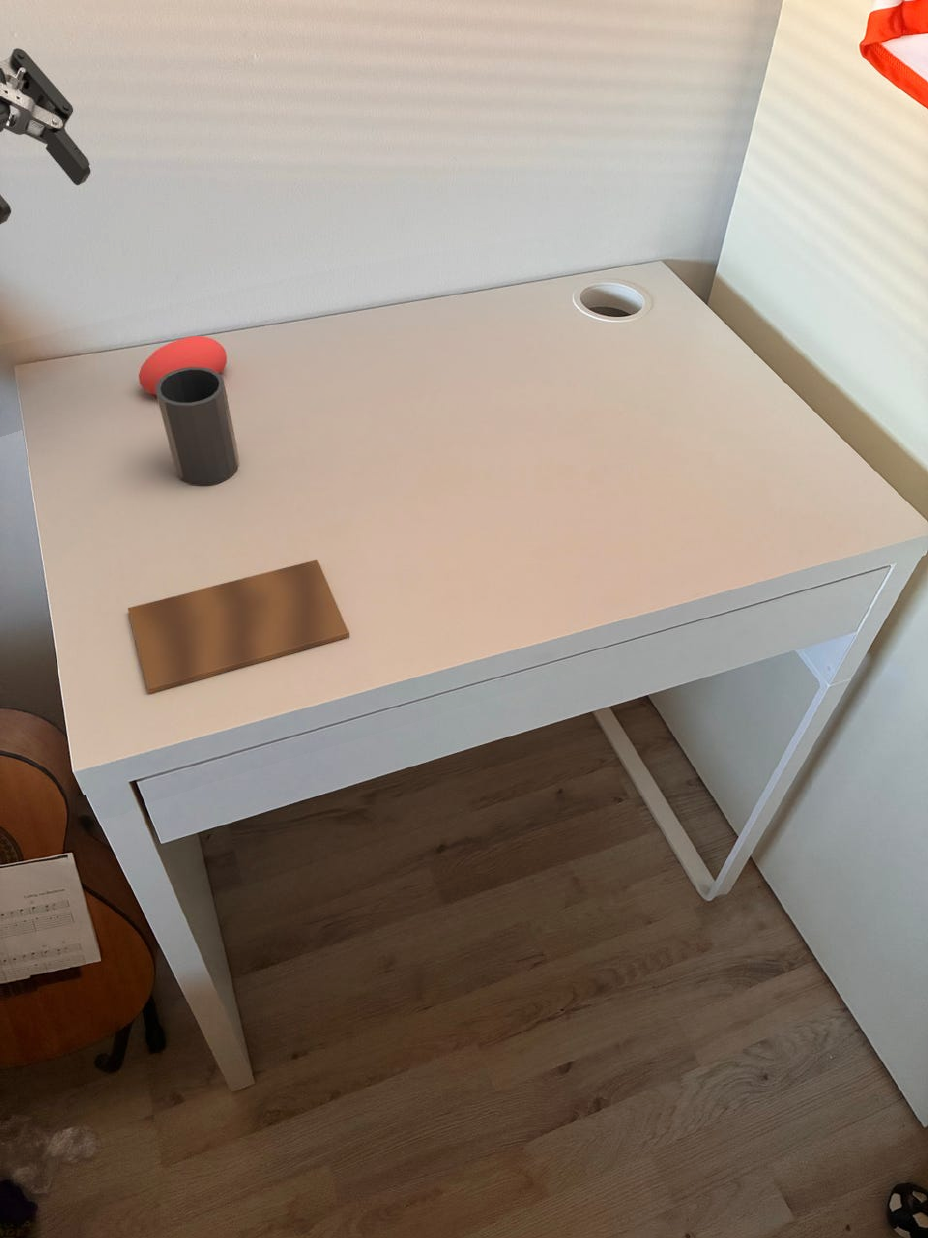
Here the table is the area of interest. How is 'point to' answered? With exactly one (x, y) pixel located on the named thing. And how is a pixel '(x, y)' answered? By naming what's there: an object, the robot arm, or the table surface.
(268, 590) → the plate
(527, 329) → the table surface
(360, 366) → the table surface
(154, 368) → the stress ball
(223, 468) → the open gray tube
